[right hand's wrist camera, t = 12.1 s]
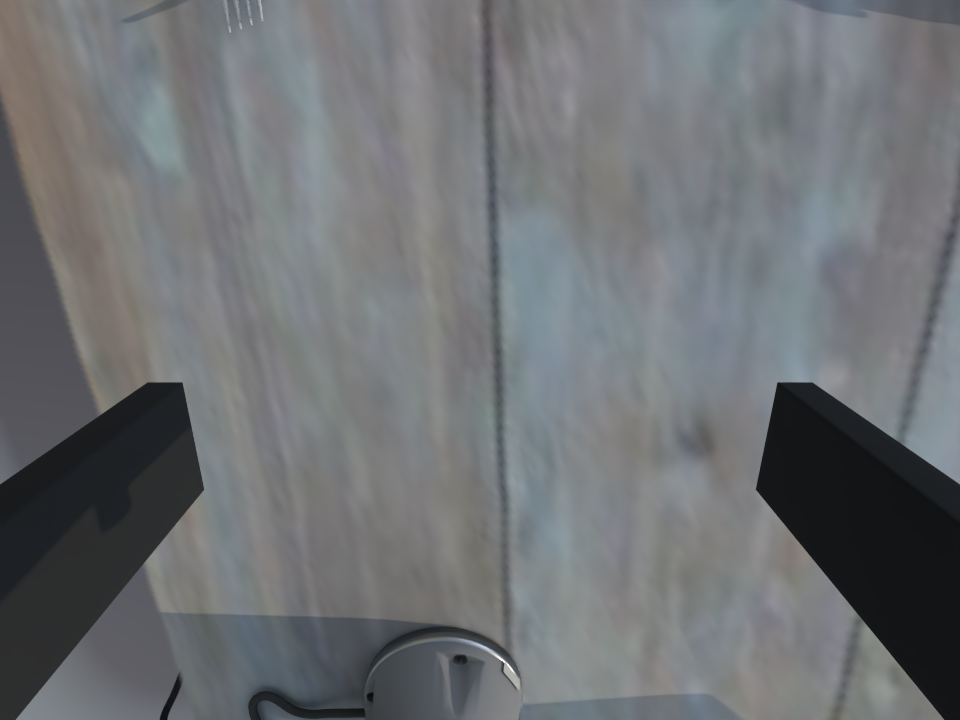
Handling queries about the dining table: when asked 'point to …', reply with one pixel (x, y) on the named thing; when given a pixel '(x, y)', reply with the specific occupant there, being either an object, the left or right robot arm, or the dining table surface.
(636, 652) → the dining table surface
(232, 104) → the dining table surface
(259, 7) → the fork
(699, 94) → the dining table surface
